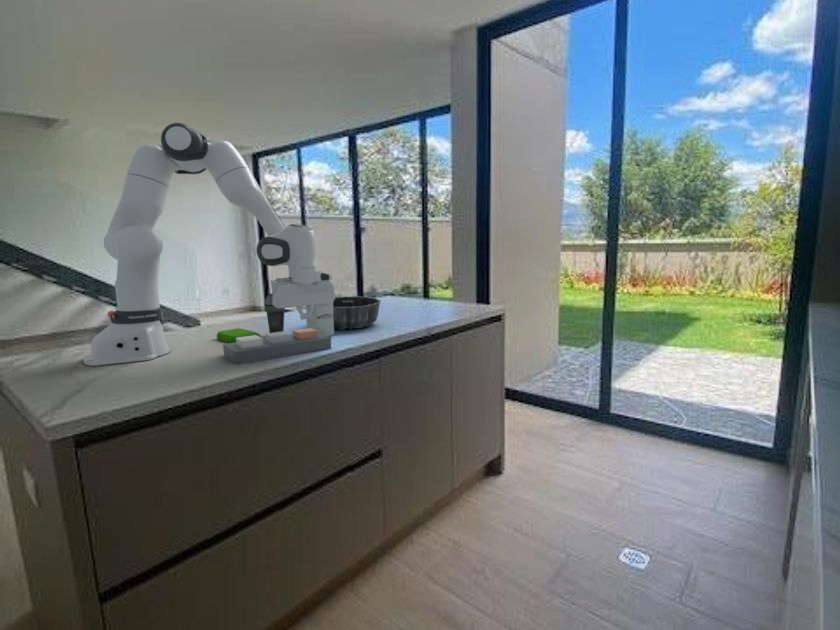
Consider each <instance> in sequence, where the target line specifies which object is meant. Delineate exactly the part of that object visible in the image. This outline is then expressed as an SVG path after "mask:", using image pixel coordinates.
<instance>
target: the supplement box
mask: <svg viewBox="0 0 840 630" xmlns="http://www.w3.org/2000/svg"><path fill="white" fill-rule="evenodd" d="M305 311H306V312H305V313H307V311H308V307H307V305H305ZM306 328H312V329H314V330H317V331H318V333H320V334H323V335H325V336H328V337H330V336H335V329H334V317H333V302H330V303H322V304H314V309H313V311H312V313H311V319H306Z"/></svg>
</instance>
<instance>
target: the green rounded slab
mask: <svg viewBox="0 0 840 630" xmlns="http://www.w3.org/2000/svg"><path fill="white" fill-rule="evenodd" d="M253 335H256V336H258V337H260V338H262V339H264V337H263V336H262V335H261V334H260V333H258V332H256V331H254V330H253V331H252V330H249V329H244V328H238V327H236V328H232V329H231V328H230V329H224V330H219V331H218V332H217V334H216V339H217V340H218V341H220V342H224V343H227V344H228V343H235V342H236V338H238V337H246V336H253Z"/></svg>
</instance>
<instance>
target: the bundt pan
mask: <svg viewBox="0 0 840 630" xmlns="http://www.w3.org/2000/svg"><path fill="white" fill-rule="evenodd" d="M381 302H382V300H381V299H378V298H376V297H369V296H338V297H337V296H335V300H334V301H333V317H334V330H336V329H337V330H345V329H349V330H352V329H361V328H368V327H369V326H371V325H373V324H375V322H376V321H377V319H378V316H379V310H380V304H381Z"/></svg>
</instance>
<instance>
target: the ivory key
mask: <svg viewBox="0 0 840 630" xmlns="http://www.w3.org/2000/svg"><path fill="white" fill-rule="evenodd" d="M236 346H238V347H240V348H241V349H244V348H251V347H257V346H263V339H262V338H260V337H258V336H256V335H253V336H246V337H238V338H236Z"/></svg>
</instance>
